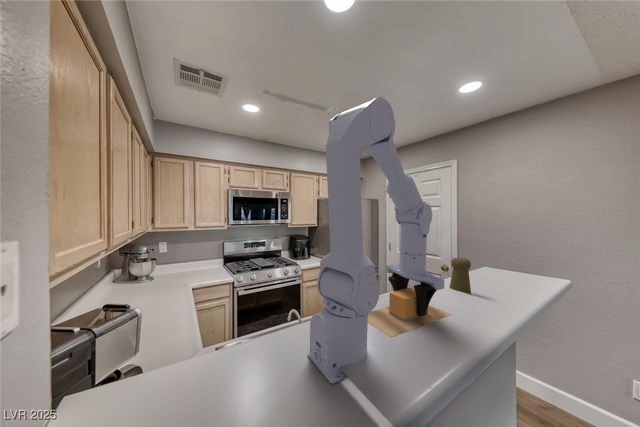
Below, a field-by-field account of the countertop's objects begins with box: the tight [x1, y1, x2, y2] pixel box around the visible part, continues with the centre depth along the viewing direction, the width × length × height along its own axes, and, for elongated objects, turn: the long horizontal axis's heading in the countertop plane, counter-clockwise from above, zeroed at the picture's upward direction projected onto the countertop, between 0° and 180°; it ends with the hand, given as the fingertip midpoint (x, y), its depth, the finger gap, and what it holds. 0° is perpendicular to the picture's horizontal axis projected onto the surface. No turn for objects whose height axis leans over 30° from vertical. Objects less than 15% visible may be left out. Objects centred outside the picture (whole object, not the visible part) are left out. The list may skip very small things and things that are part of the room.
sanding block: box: [388, 286, 428, 322], centre depth 54 cm, size 8×4×5 cm, turn 120°
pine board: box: [368, 304, 452, 338], centre depth 53 cm, size 20×10×2 cm, turn 120°
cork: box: [449, 257, 472, 296], centre depth 72 cm, size 6×6×11 cm
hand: (411, 310), depth 54 cm, fingers open, 5 cm apart
